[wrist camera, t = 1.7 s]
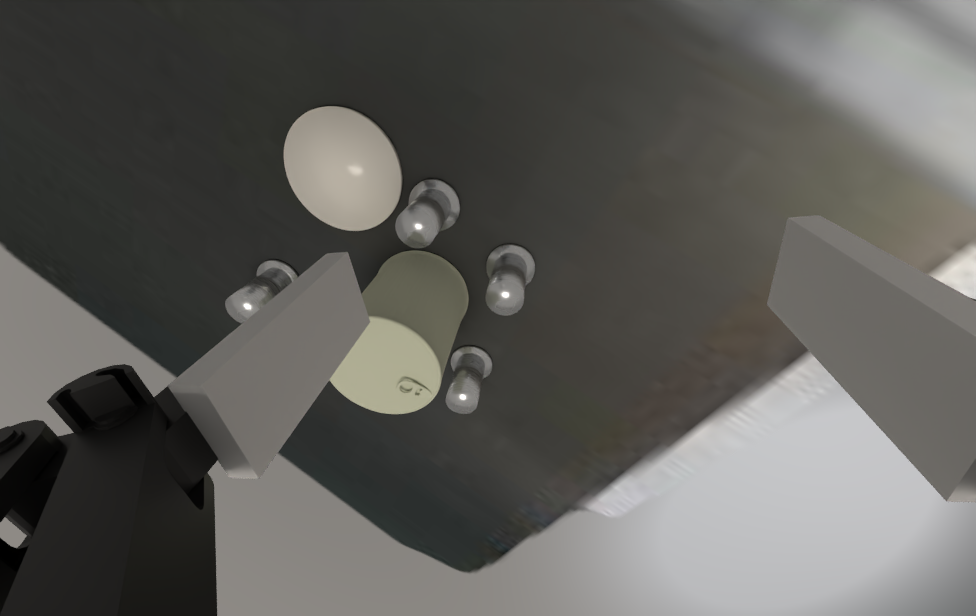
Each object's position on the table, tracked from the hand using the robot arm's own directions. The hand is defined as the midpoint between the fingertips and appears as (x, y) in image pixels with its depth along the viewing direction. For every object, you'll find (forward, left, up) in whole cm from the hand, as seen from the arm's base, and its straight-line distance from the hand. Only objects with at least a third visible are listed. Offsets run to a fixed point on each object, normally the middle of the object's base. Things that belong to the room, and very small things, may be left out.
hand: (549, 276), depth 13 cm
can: (-6, -16, -22) cm, 28 cm away
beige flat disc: (-15, -7, -22) cm, 28 cm away
